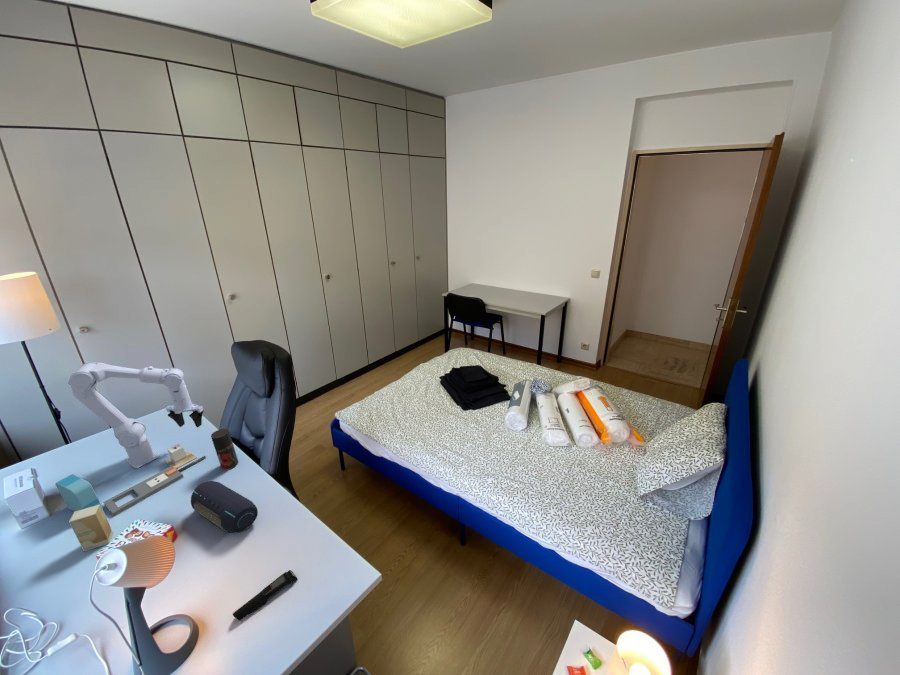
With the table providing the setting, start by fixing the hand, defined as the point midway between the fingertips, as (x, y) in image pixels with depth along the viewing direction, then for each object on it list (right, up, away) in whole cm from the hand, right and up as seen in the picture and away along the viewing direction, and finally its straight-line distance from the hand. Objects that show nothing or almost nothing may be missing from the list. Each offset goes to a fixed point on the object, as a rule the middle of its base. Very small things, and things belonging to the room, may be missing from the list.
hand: (190, 425), depth 151 cm
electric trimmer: (+60, -32, -55) cm, 88 cm away
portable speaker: (+34, -23, -31) cm, 52 cm away
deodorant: (+21, -14, -7) cm, 26 cm away
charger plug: (-1, -13, -5) cm, 14 cm away
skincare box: (-1, -27, -38) cm, 47 cm away
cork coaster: (-1, -13, -4) cm, 14 cm away
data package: (-17, -23, -26) cm, 39 cm away
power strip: (0, -17, -15) cm, 23 cm away
